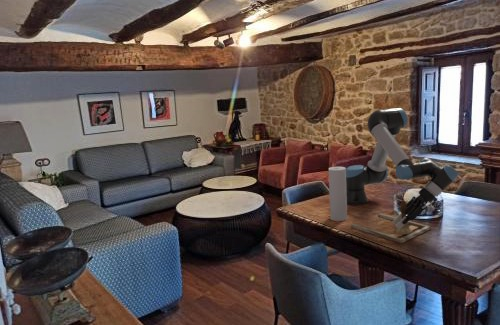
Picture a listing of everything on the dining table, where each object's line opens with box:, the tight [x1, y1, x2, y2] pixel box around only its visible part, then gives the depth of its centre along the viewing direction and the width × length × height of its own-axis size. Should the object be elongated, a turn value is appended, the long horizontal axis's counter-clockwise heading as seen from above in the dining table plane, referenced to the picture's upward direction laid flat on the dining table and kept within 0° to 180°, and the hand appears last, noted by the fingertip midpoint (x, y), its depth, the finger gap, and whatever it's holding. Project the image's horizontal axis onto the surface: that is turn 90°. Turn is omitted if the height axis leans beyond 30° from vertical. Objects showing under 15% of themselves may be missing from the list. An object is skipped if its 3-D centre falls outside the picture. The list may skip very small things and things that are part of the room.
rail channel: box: [350, 212, 431, 244], centre depth 191 cm, size 24×30×2 cm
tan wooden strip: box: [390, 225, 419, 238], centre depth 184 cm, size 21×4×1 cm, turn 124°
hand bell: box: [394, 200, 414, 235], centre depth 183 cm, size 8×8×16 cm
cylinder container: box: [328, 166, 348, 222], centre depth 208 cm, size 9×9×30 cm
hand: (395, 225), depth 184 cm, fingers closed on hand bell, 4 cm apart
